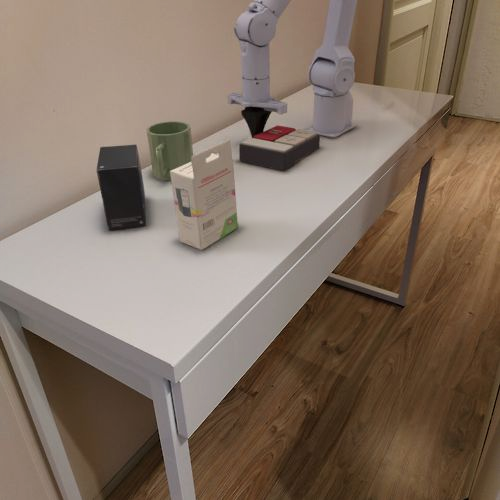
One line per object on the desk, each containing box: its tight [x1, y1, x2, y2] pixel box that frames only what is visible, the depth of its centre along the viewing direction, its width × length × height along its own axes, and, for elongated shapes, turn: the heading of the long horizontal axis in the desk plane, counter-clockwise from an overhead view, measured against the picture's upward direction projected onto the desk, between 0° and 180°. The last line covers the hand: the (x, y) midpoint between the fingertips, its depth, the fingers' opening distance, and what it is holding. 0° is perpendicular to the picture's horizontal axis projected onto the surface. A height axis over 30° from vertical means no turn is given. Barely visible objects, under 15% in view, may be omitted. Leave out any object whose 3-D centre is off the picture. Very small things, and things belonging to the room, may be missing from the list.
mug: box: [146, 120, 194, 181], centre depth 96 cm, size 11×8×9 cm
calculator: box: [238, 125, 321, 172], centre depth 105 cm, size 11×4×15 cm
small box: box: [96, 144, 147, 231], centre depth 82 cm, size 11×6×10 cm, turn 12°
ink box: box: [170, 138, 239, 251], centre depth 74 cm, size 9×5×15 cm, turn 141°
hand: (257, 141), depth 109 cm, fingers closed
